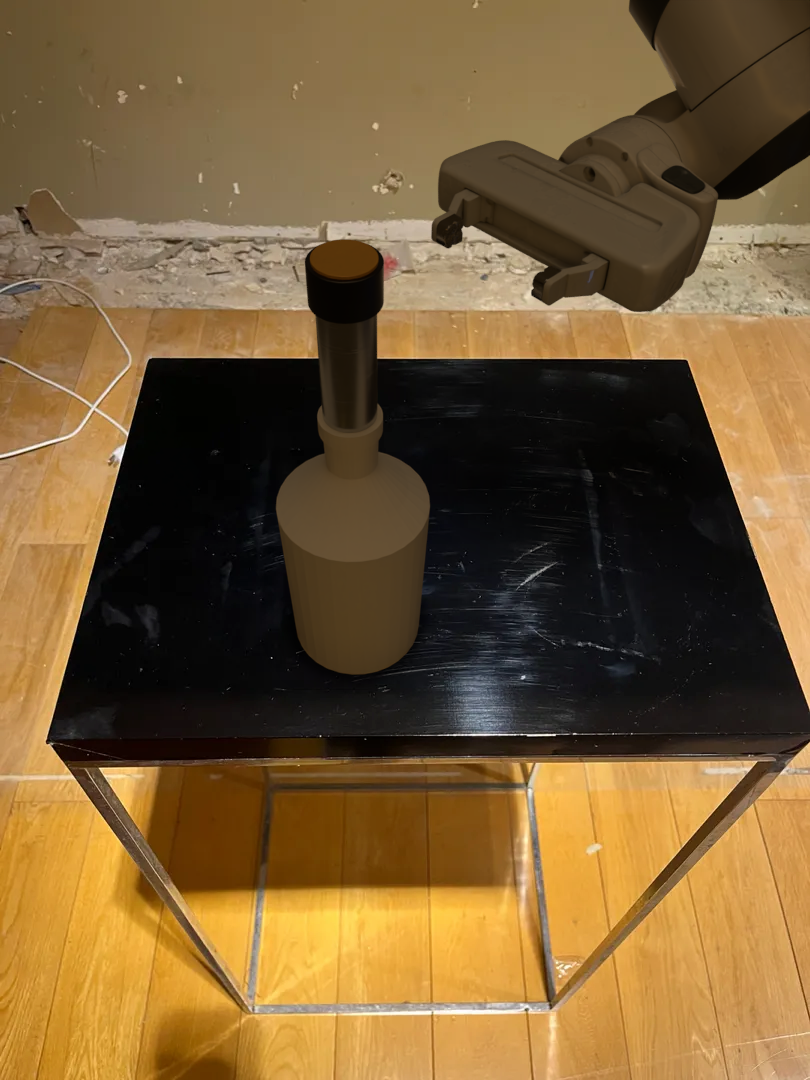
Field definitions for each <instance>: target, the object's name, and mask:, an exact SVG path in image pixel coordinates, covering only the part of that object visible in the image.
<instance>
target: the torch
mask: <svg viewBox="0 0 810 1080" xmlns="http://www.w3.org/2000/svg"><path fill="white" fill-rule="evenodd" d="M304 270H305V285H306V296H307V297H306V298H307V299H306V300H307V305H308V309H309V310H310V312H311V313H312V314H313V315H314V316H315V327H316V328H315V331H316V344H317V345H316V346H317V359H318V372H319V373H318V374H319V375H318V376H319V388H320V389H319V390H320V401H321V405H322V416H323V420H324V421H325V423H326V424H327V425H328V426H329V427H330V428H332V429H334V430H336V431H339V432H344V433H354V432H360V431H363V430H365V429H367V428H369V427H370V426H371V425H373V423H374V422H375V421H376V419H377V403H378V314H379V313H380V312H381V310H382V309H383V307H384V303H385V260H384V257H383V255H382V252H380V251H379V250H378V249H377V248H376V247H374V245H371V244H368V243H366V242H364V241H360V240H357V239H350V238H349V239H333V240H329V241H325V242H323V243H321V244H319V245H316V246H314V247H312V249H311V250H309V252H307V254H306V256H305V259H304Z"/></svg>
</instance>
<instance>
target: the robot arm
mask: <svg viewBox="0 0 810 1080" xmlns="http://www.w3.org/2000/svg"><path fill="white" fill-rule="evenodd" d="M628 12H629V14H630V15H631V17H632V18H633V20H634V22H635V23H636V25H637V27H638V28H639V29H640V31H641V32H642V35H643V36H644V37H645V39H646V40H647V42H648V43H649V45H650V47H651V48H652V50H653V51H655V52H656V53H657V55H658V57H659V59H660V61H661V62H662V65H663V67H664V68H665V70H666V72H667V75H668V76H669V79H670V80H671V82H672V84H673V86H674V88H675V90H673V91H670V92H667V93H666V94H664V95H661V96H659V97H657V98H655V99H653V100H651V101H649V102H648V103H647V102H646V104H644V105H643V106H641V107H640V108H639V109H638V110H637V111H636V112H635V113H633V114H629V115H625V116H622V117H619V118H617V119H615V120H612V121H611V122H609V123H607V124H604V125H603V126H601V127H599V128H597V129H595V130H594V131H592V132H590V133H587V134H586V135H584V136H581V137H580V138H578V139H576V140H574V141H573V142H572V143H570V144H569V145H568V146H567V147H566V148H565V149H563V151H562V153H561V154H560V156H559V158H558V159H557V158H554V157H552V156H550V155H548V154H545V153H543V152H541V151H539V150H537V149H534V148H532V147H530V146H528V145H526V144H523V143H521V142H518V141H515V140H509V139H508V140H507V139H506V140H505V139H504V140H495V141H491V142H487V143H484V144H481V145H477V146H475V147H472V148H469V149H465V150H463V151H460V152H458V153H455V154H453V155H450V156H448V157H446V158H445V159H443V161H442V162H441V164H440V166H439V171H438V177H437V178H438V179H437V203H438V207H439V208H440V210H442V211H443V212H444V213H442V214H440V215H439V216H436V217H435V218H434V219H433V221H432V223H431V234H430V235H431V236H430V239H431V241H433V242H434V243H436V244H438V245H440V246H442V247H444V248H445V249H451V248H452V247H453V246H456V245H458V244H460V243H462V242H463V238H464V237H463V236H464V232H463V228H464V227H465V228H467V229H468V228H470V227H474V228H475V229H477V230H479V231H481V232H483V233H484V234H487V235H488V236H490V237H492V238H494V239H496V240H498V241H499V242H501V243H503V244H505V245H506V246H509V247H510V248H512V249H515V250H517V252H520V253H522V254H524V255H526V256H527V257H530V258H531V259H533V260H535V261H537V262H539V263H541V264H542V265H544V266H546V267H545V268H543V271H539V272H537V273H536V274H535V275H534V277H533V279H532V284H531V285H532V287H533V288H532V289H531V291H530V296H531V297H533V298H534V299H537V300H538V301H540V302H541V303H543V304H545V305H546V306H549V307H550V306H552V305H553V304H555V303H556V302H558V301H559V300H562V299H563V298H565V299H566V298H579V297H591V296H594V295H595V294H599V295H600V296H602V297H604V298H605V299H608V300H609V301H611V302H613V303H616V304H617V305H619V306H621V307H623V308H624V309H626V310H628V311H630V312H634V313H647V312H653V311H656V310H658V308H660V307H661V306H663V305H664V304H666V302H668V301H669V300H670V299H671V298H672V297H674V296H675V295H676V294H677V293H678V292H679V290H680V289H682V287H683V285H684V283H685V280H686V279H688V278H690V277H692V275H694V274H695V272H696V270H697V268H698V266H699V265H700V261H701V259H702V256H703V255H704V251H705V250H706V247H707V243H708V241H709V238H710V234H711V230H712V228H713V223H714V219H715V215H716V211H717V210H716V209H717V205H718V201H734V200H735V201H737V200H739V199H742V198H744V197H747V196H749V195H751V194H753V193H755V192H756V191H758V190H760V189H762V188H763V187H764V186H766V185H768V184H769V183H770V182H772V181H773V180H775V179H777V178H778V177H779V176H781V175H782V174H783V173H785V172H786V171H788V170H790V169H791V168H793V167H795V166H797V165H798V164H799V163H801V162H803V161H805V160H806V159H807V158H808V157H810V0H629V1H628Z"/></svg>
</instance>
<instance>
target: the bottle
mask: <svg viewBox="0 0 810 1080" xmlns="http://www.w3.org/2000/svg"><path fill="white" fill-rule="evenodd" d="M316 418H317V432H318V436H319V438H320V440H321V441H322V442H323V450H324V453H321V454H318V455H316V456H314V457H312V458H310V459H307V460H305V461H304V462H303V463H301V464H300V465H298V466H297V467H295V468H294V469H293V470H292V471H291V472H290V473H289V474H288V475H287V476H286V478H285V479H284V481H283V483H282V484H281V485H280V488H279V490H278V493H277V496H276V502H275V503H276V504H275V511H276V518H277V522H278V529H279V535H280V542H281V546H282V553H283V559H284V565H285V571H286V577H287V582H288V589H289V594H290V600H291V606H292V612H293V618H294V623H295V629H296V636H297V639H298V641H299V644H300V646H301V647H302V649H303V650H304V652H305V653H306V654H307V655H308V657H310V658H311V659H312V660H313V661H314V662H315V663H316V664H318V665H320V666H322V667H323V668H325V669H326V670H327V669H328V670H330V671H332V672H333V671H334V672H336V673H340V674H346V675H367V674H372V673H376V672H380V671H382V670H384V669H387V668H389V667H391V666H393V665H394V664H396V663H398V662H399V661H400V660H401V659H402V658H404V656H406V655H407V653H409V651H410V649H411V648H412V647H413V645H414V643H415V642H416V641H415V640H416V638H417V637H418V632H419V627H420V617H421V616H420V615H421V605H422V595H423V585H424V575H425V563H426V555H427V554H426V553H427V543H428V542H427V541H428V531H429V521H430V511H431V502H430V501H431V500H430V495H429V492H428V488H427V486H426V483H425V482H424V481H423V479H422V477H421V476H420V475H419V473H418V472H417V471H415V470H414V468H412V467H411V466H410V465H408V464H407V463H405V462H404V461H402V460H401V459H399V458H397V457H395V456H392V455H391V454H388V453H384V452H381V451H379V444H380V443H379V441H380V439H381V437H382V435H383V433H384V412H383V409H382V407H381V406H380V404H379V402H377V419H376V421H375V422H374V423H373V425H371V426H370V427H369V428H367V429H365V430H363V431H360V432H354V433H344V432H339V431H336V430H334V429H332V428H330V427H329V426H328V425H327V424H326V423H325V421H324V420H323V416H322V404H321V406H320V407H319V408H318V411H317V414H316Z"/></svg>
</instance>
